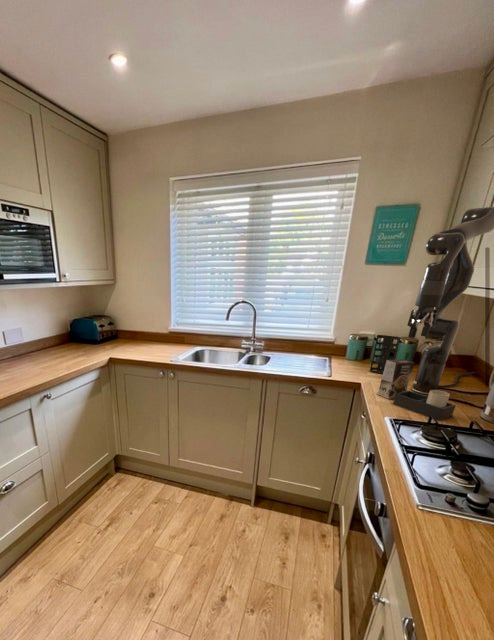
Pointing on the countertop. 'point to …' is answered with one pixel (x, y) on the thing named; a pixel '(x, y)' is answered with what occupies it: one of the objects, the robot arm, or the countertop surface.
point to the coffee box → (395, 377)
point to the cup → (438, 398)
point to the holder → (384, 352)
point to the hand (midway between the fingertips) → (417, 337)
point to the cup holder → (422, 405)
